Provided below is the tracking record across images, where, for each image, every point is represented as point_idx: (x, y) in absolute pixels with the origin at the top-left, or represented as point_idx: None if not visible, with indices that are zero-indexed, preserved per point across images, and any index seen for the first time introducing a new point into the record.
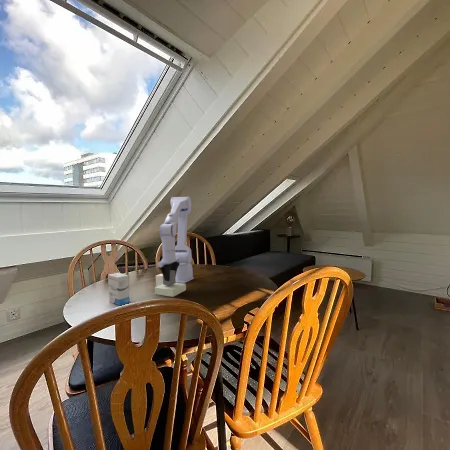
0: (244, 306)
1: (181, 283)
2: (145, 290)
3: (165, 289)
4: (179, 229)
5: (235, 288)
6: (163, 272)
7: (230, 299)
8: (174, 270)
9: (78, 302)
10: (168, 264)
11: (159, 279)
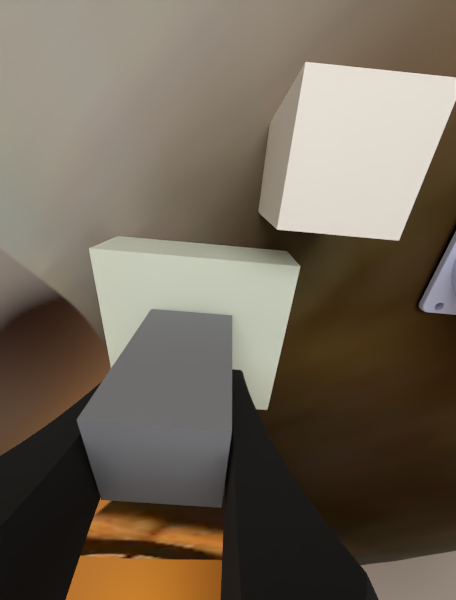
0: (164, 546)
1: (269, 385)
2: (156, 56)
3: (109, 349)
4: None
5: (325, 512)
6: (47, 449)
7: (203, 521)
8: (220, 502)
9: None
10: (239, 584)
11: (277, 172)
